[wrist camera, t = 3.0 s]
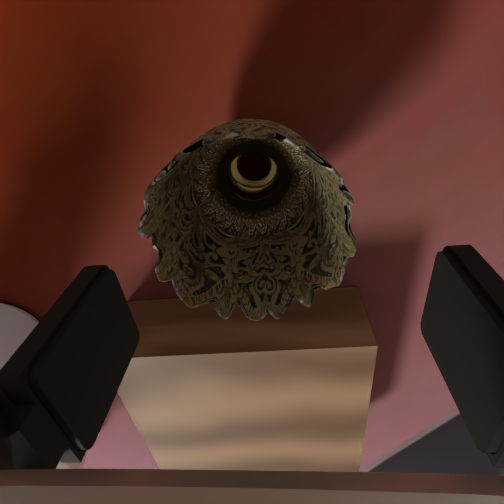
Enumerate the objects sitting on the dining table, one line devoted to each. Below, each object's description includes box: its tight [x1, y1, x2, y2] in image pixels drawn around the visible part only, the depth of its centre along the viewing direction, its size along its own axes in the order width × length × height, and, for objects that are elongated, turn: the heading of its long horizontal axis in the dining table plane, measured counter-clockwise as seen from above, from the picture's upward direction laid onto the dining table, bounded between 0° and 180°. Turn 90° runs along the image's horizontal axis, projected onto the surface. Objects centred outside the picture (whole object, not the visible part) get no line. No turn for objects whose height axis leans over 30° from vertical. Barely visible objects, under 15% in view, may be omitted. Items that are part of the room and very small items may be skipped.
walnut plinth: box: [117, 287, 378, 472], centre depth 26 cm, size 16×16×5 cm
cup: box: [138, 118, 357, 321], centre depth 15 cm, size 8×7×8 cm
